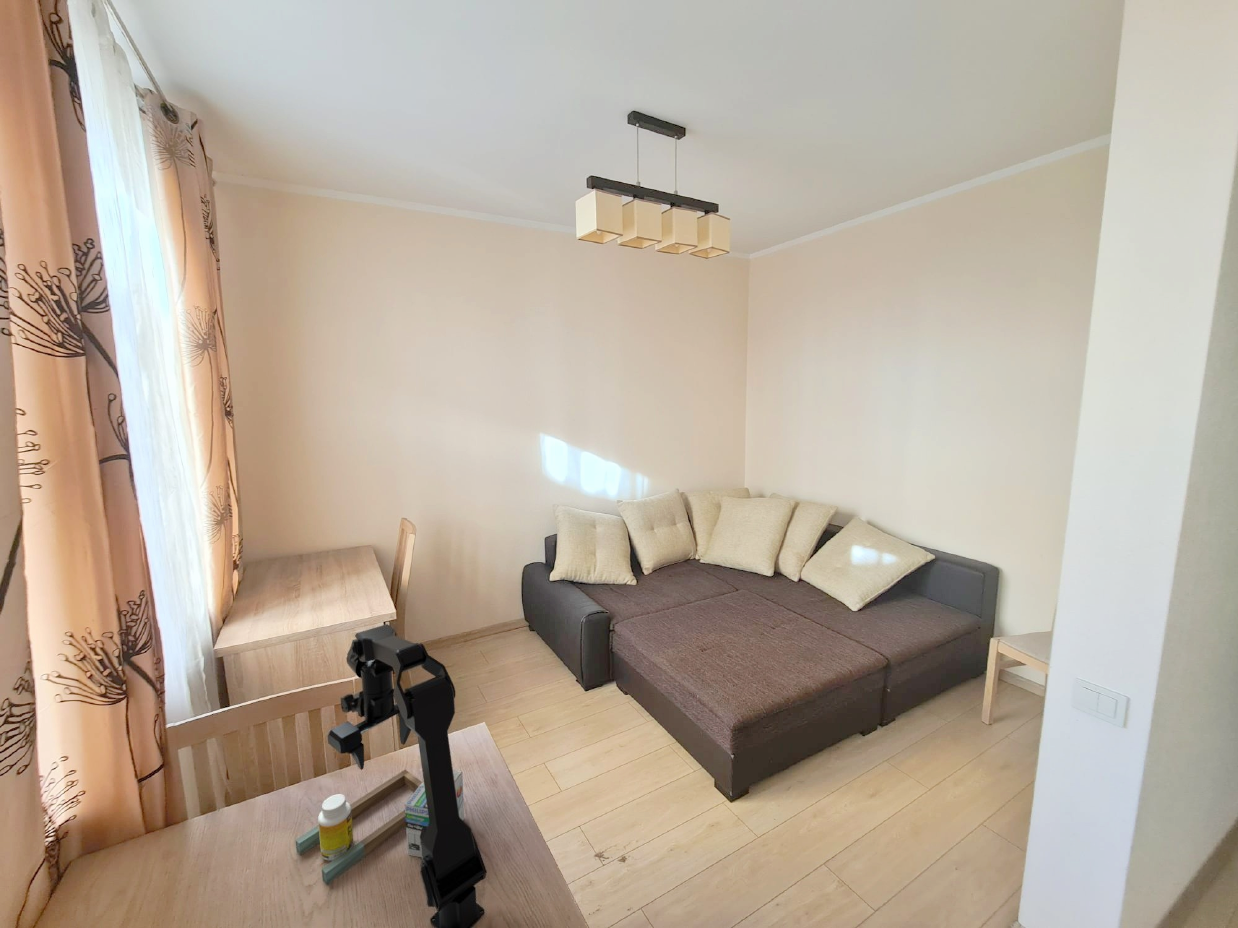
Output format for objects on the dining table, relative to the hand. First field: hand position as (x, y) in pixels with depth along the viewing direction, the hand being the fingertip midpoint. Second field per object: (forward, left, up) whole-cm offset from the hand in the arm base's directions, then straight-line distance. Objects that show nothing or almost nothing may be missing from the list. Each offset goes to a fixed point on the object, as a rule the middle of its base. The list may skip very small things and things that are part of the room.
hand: (382, 755), depth 108 cm
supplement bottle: (-2, +11, -12) cm, 17 cm away
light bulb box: (-15, -2, -12) cm, 20 cm away
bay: (-2, +5, -12) cm, 13 cm away
